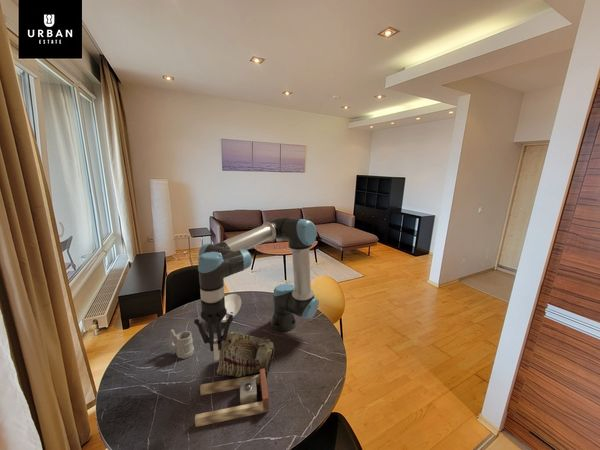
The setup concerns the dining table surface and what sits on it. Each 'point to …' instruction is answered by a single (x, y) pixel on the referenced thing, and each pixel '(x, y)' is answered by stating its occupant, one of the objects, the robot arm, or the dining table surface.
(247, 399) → the block
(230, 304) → the bowl
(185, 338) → the mug
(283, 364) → the dining table surface
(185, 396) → the dining table surface
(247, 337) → the sculptural head
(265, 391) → the channel
